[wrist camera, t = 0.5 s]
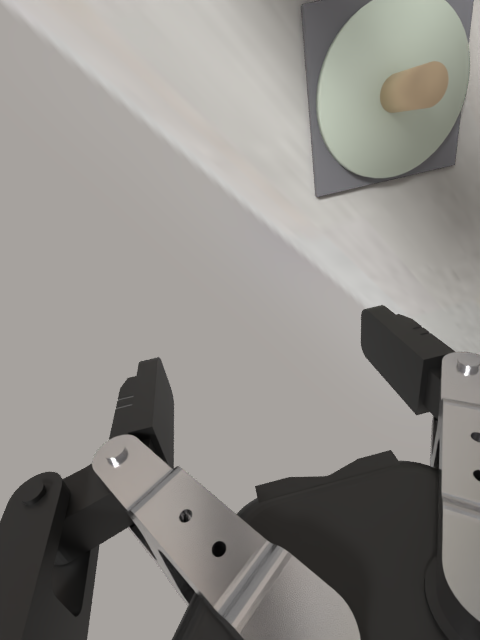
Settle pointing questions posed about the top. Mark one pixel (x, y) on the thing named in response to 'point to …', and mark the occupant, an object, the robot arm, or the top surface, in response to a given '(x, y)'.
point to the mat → (318, 36)
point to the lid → (392, 85)
